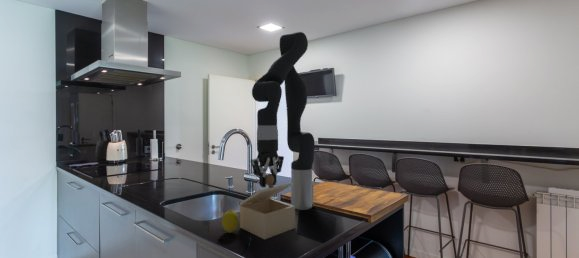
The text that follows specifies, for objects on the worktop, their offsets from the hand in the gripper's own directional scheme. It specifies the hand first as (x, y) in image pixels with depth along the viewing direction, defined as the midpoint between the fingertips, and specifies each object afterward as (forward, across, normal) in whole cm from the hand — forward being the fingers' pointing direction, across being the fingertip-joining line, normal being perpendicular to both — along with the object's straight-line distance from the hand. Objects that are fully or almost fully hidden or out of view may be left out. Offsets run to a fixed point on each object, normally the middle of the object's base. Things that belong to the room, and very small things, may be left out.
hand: (268, 185), depth 104 cm
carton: (+15, 0, -1) cm, 15 cm away
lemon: (+16, +12, -6) cm, 21 cm away
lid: (+4, 0, -2) cm, 4 cm away
